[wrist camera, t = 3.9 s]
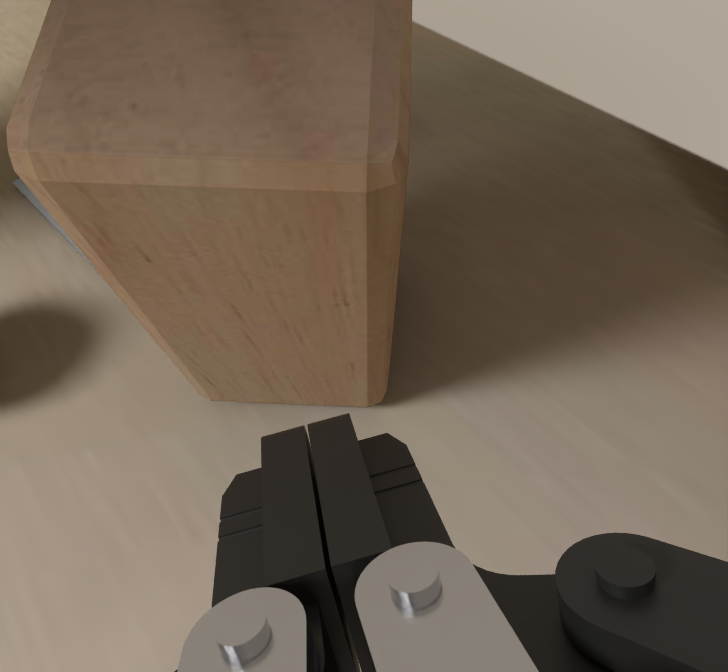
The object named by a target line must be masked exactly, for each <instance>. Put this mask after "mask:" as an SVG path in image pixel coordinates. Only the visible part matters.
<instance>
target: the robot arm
mask: <svg viewBox="0 0 728 672" xmlns="http://www.w3.org/2000/svg"><path fill="white" fill-rule="evenodd" d="M308 432H309V438H310V442H309V439H308V435H307V432H306V429H305V427H304V426H300V427H297V428H293V429H289V430H286V431H282V432H278V433H275V434H271V435H267V436H264V437H262V438H261V464H262V468H259V469H255V470H252V471H248V472H244V473H241V474H237V475H236V476H235V478H234V479H233V481H232V482H231V484H230V485H229V487H228V488H227V490H226V491H225V493H224V494H223V496H222V503H221V514H220V520H221V522H220V524H219V535H218V537H219V541H218V545H217V556H216V567H215V577H214V588H213V598H212V608H211V609H210V610H209V611H208V612H207V613H205V614H204V615H203V616H202V617H201V618H200V620H199V621H198V622H197V623H196V624H195V626H194V627H193V628H192V630H191V631H190V633H189V635H188V637H187V639H186V641H185V643H184V646H183V649H182V653H181V658H180V662H179V666H178V669H177V670H176V671H175V672H360V667H361V671H362V672H728V562H726V561H723V560H719V559H716V558H713V557H710V556H707V555H703V554H700V553H697V552H694V551H691V550H687V549H684V548H681V547H678V546H674V545H671V544H668V543H665V542H662V541H658V540H655V539H652V538H649V537H645V536H641V535H636V534H628V533H606V534H600V535H595V536H591V537H588V538H585V539H583V540H581V541H579V542H577V543H575V544H574V545H572V546H571V547H570V548H568V549H567V550H566V551H565V553H564V554H563V555H562V556H561V558H560V560H559V561H558V564H557V567H556V571H555V574H552V575H505V574H498V573H494V572H490V571H487V570H484V569H482V568H479V567H477V566H475V565H473V564H472V563H471V562H470V560H469V559H468V558H467V557H466V556H465V555H464V554H463V553H461V552H460V551H458V550H457V549H455V547H454V546H453V544H452V542H451V540H450V538H449V535H448V533H447V531H446V529H445V527H444V525H443V522H442V520H441V518H440V516H439V514H438V512H437V510H436V507H435V505H434V503H433V501H432V499H431V497H430V495H429V492H428V490H427V488H426V486H425V484H424V483H423V480H422V477H421V475H420V473H419V471H418V469H417V467H416V466H415V462H414V460H413V458H412V456H411V454H410V452H409V450H408V447H407V445H406V444H404V443H402V442H401V441H399V440H398V439H396V438H394V437H393V436H391V435H390V434H388V433H385V434H381V435H378V436H374V437H371V438H367V439H363V440H360V441H358V440H357V437H356V433H355V430H354V427H353V424H352V421H351V418H350V415H349V413H348V414H344V415H340V416H337V417H333V418H329V419H326V420H322V421H318V422H315V423H311V424H308ZM310 444H311V446H310ZM358 660H359V662H358ZM359 664H360V667H359Z"/></svg>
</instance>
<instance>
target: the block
mask: <svg viewBox="0 0 728 672" xmlns="http://www.w3.org/2000/svg"><path fill="white" fill-rule="evenodd" d="M411 33H412V0H51V3H50V5H49V8H48V11H47V14H46V17H45V20H44V22H43V25H42V28H41V31H40V34H39V37H38V39H37V42H36V45H35V48H34V51H33V53H32V56H31V59H30V62H29V65H28V68H27V70H26V73H25V76H24V79H23V82H22V85H21V87H20V90H19V93H18V96H17V99H16V101H15V104H14V107H13V110H12V113H11V116H10V118H9V121H8V124H7V127H6V132H7V146H8V153H9V156H10V159H11V163H12V166H13V169H14V171H15V172H16V174H17V175H18V176H19V177H20V178H21V180H22V181H23V182H24V183H25V184H26V186H27V187H28V188H29V189H30V190H31V192H32V193H33V194H34V195H35V196H36V198H37V199H38V200H39V201H40V203H41V204H42V205H43V206H44V207H45V209H46V210H47V211H48V212H49V213H50V215H51V216H52V217H53V218H54V219H55V221H56V222H57V223H58V224H59V225H60V227H61V228H62V229H63V230H64V231H65V233H66V234H67V235H68V236H69V238H70V239H71V240H72V241H73V242H74V244H75V245H76V246H77V247H78V248H79V250H80V251H81V252H82V253H83V254H84V256H85V257H86V258H87V259H88V260H89V262H90V263H91V264H92V265H93V266H94V268H95V269H96V270H97V271H98V273H99V274H100V275H101V276H102V277H103V279H104V280H105V281H106V282H107V283H108V285H109V286H110V287H111V288H112V289H113V291H114V292H115V293H116V294H117V295H118V297H119V298H120V299H121V300H122V301H123V303H124V304H125V305H126V306H127V308H128V309H129V310H130V311H131V312H132V314H133V315H134V316H135V317H136V318H137V320H138V321H139V322H140V323H141V324H142V326H143V327H144V328H145V329H146V330H147V332H148V333H149V334H150V335H151V337H152V338H153V339H154V340H155V341H156V343H157V344H158V345H159V346H160V347H161V349H162V350H163V351H164V352H165V353H166V355H167V356H168V357H169V358H170V359H171V361H172V362H173V363H174V364H175V365H176V367H177V368H178V369H179V370H180V372H181V373H182V374H183V375H184V376H185V378H186V379H187V380H188V381H189V382H190V384H191V385H192V386H193V387H194V388H195V390H196V391H197V392H198V393H199V394H200V395H202V396H204V397H206V398H208V399H210V400H212V401H235V402H259V403H282V404H305V405H328V406H351V407H369V406H372V405H375V404H378V403H381V402H382V400H383V398H384V396H385V394H386V392H387V390H388V379H389V369H390V358H391V347H392V336H393V325H394V314H395V303H396V293H397V282H398V271H399V260H400V249H401V238H402V227H403V217H404V206H405V195H406V184H407V173H408V162H409V123H410V78H411Z"/></svg>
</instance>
